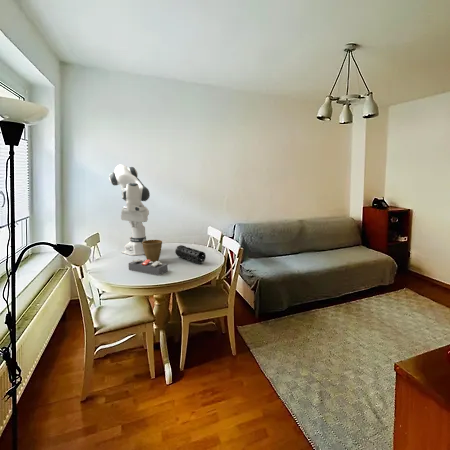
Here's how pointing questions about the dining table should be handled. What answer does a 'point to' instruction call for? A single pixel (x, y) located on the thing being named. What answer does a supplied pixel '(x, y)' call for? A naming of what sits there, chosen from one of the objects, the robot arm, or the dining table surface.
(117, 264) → the dining table surface
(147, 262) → the middle rocker
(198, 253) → the muzzle brake
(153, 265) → the right rocker
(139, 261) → the left rocker
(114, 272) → the dining table surface
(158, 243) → the plant pot
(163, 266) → the switch strip
